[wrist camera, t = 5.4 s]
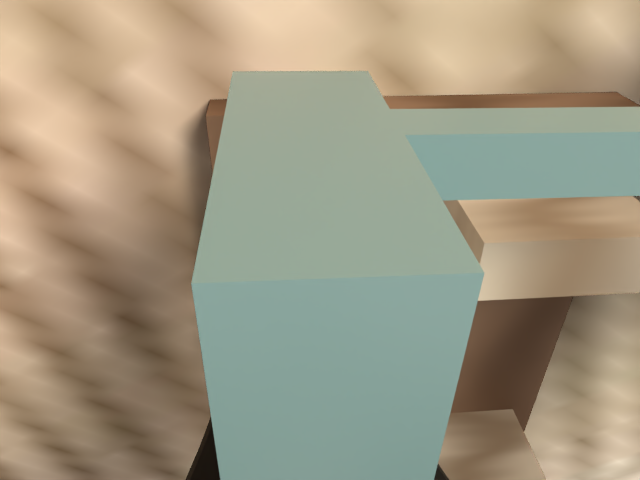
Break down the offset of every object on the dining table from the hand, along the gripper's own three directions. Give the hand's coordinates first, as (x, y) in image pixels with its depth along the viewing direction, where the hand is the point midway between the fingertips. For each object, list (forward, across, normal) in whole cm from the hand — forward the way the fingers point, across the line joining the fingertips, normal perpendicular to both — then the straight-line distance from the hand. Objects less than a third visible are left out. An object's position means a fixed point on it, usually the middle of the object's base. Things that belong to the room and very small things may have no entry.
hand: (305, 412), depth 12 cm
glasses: (+2, -4, 0) cm, 4 cm away
